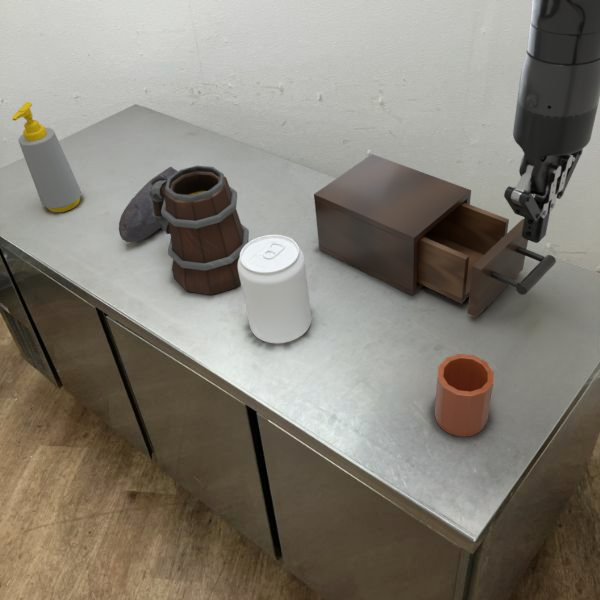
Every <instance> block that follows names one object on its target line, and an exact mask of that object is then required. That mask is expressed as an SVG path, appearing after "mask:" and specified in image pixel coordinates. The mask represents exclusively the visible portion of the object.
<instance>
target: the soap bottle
mask: <svg viewBox="0 0 600 600" xmlns="http://www.w3.org/2000/svg"><path fill="white" fill-rule="evenodd" d="M32 106H33V103H32V102H31V101H26V102H25V103H23V104H22V105H21V107H20V108H19V109H18V110H17V111H16V112H15V113H14V114H13V116H12V117H11V119H12V121H17V120H18V119H20V118H23V119H24V120H25V121H26V122H24V124H23V128H24V129H23V131H22V134H21V135H20V136H19V138H18V139H17V140H18V144H19V147H20V149H21V152H22V154H23V157H24V161H25V162H26V166H27V168H28V171H29V173H30V176H31V178H32V181H33V184H34V186H35V189H36V192H37V194H38V197H39V201H40V203H41V205H42V206H44V207H45V208H47V210H49V211H50V212H52V213H64V212H67V211H70V210H72V209H74V208H76V207H77V206H78V205H79V204H80V201H81V196H82V190H81V188H80V185H79V183H78V181H77V178H76V176H75V174H74V172H73V170H72V167H71V165H70V163H69V161H68V158H67V157H66V153H65V151H64V150H63V147H62V145H61V143H60V141H59V139H58V136H57V134H56V132H55V130H54V129H52V128H50V127H46V126H45V125H43V124H40V123H39V120H36V119H33V117H34V115H33V113H32V110H31V107H32Z"/></svg>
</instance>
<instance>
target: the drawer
mask: <svg viewBox="0 0 600 600" xmlns="http://www.w3.org/2000/svg"><path fill="white" fill-rule="evenodd" d="M509 223H510V219H509V218H507V217H504V216H501V215H498V214H496V213H494V212H490V211H488V210H486V209H482V208H480V207H477V206H474V205H473V204H471V203H470V204H467V203H464V202H463V203H461V204H460V205H459V206H458V207H457V208H456V209H454V210H453V211H452V212H451V213H450V214H448V215H447V216H446V217H445V218H444V219H442V220H441V221H440V222H439V223H438V224H437V225H435V226H434V227H433V228H432V229H431V230H429V231H428V232H427V233H426V234H425V235H423V236H422V237H421V238H420V239H419V240H418V259H417V282H418V283H420V284H422V285H424V286H423V287H426V288H428V289H430V290H432V291H434V292H437V293H438V294H441V295H443V296H445V297H446V298H450V299H451V300H453V301H455V302H458V303H460V304H463V303H464V302H465V301H466V300H467V299H468V305H467V315H468V316H471V317H473V318H475V319H477V318H478V316H479V315H480V314H481V313H482V312H483V311H484V310H485V309H486V308H487V307H488V306H489V305H490V304H491V303H492V302H493V301H494V300H495V299H496V298H497V297H498V296H499V295H500V294H501V292H503V290H504V289H506V288H507V287H508V286H510V287H512V288H515V289H516V291H517V293H518V294H519V295H522V296H524V295H527V294H528V293H529V292H530V291H531V289H533V288H534V286H535V285H537V283H538V282H540V280H541V279H542V278H543V277H544V276H545V275H546V274H547V273H548V272H549V271H550V269H552V267H553V266H555V264H556V262H557V259H556V257H554V256H553V255H552V254H547V255H546V256H544V255H542V254H540V253H537V252H534V251H532V250H530V249H528V243H529V240H527V239H524V238H523V237H522V230H523V224H524V218H522V219H521V220H519V221H518V223H516V224H515V225H514V226H513V227H512V228H511V229H510V230H509V231H508V229H509ZM526 257H528V258H529V259H532V260H534V261H537V262H538V264H537V265H535V267H533V269H532V270H531V271H530V272H529V273H528V274H527V275H526V276H525V277H524V278H523V279H522V280H521V281H518V280H515V279H516V277H518V276H519V275H520V273H521V272H523V270H524V266H525V260H526Z"/></svg>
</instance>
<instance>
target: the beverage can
mask: <svg viewBox="0 0 600 600" xmlns="http://www.w3.org/2000/svg"><path fill="white" fill-rule="evenodd" d="M238 272H239V277H240V282H241V284H240V286H241V291H242V295H243V301H244V305H245V309H246V313H247V319H248V323H249V327H250V331H251V332H252V333H253V334H254V336H255V337H256V338H258V339H259V340H261V341H264V342H265V343H271V344H284V343H290V342H292V341H295V340H297V339H298V338H300V337H301V336H303V335H304V334H305V333H306V332H307V331H308V330H309V328H310V326H311V325H312V311H311V303H310V293H309V286H308V278H307V277H308V276H307V268H306V260H305V255H304V253H303V251H302V249H301V248H300V247H299V244H298V243H297V242H296V241H295V240H294V239H292V238H291V237H288V236H285V235H282V234H265V235H262V236H258V237H255V238H253V239H251V240H250V241H249V242H248V243H247V244H246V245H245V246H244V247H243V248H242V250H241V252H240V258H239V260H238Z"/></svg>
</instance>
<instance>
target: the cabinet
mask: <svg viewBox="0 0 600 600" xmlns="http://www.w3.org/2000/svg"><path fill="white" fill-rule="evenodd" d="M471 195H472V189H470V188H467V187H463V186H462V185H458V184H456V183H453V182H450V181H447V180H444V179H443V178H442V179H441V178H439V177H436V176H434V175H431V174H428V173H426V172H423V171H420V170H417V169H415V168H412V167H409V166H406V165H404V164H401V163H398V162H395V161H393V160H390V159H387V158H384V157H382V156H378V155H376V154H373V153H371V154H370V155H368V156H367V157H365V158H363V160H361V161H359V162H358V163H356V164H355V165H354V166H353V167H351V168H349V169H348V170H347V171H345V172H344V173H342V174H341V175H340V176H338V177H336V178H335V179H333V180H332V181H331V182H330V183H327V184H326V185H325V186H323V187H322V188H320V189H319V190H318V191H316V192H314V194H313V198H314V209H315V210H314V211H315V219H316V231H317V240H318V250H319V251H321V252H322V253H325V254H327V255H329V256H331V257H333V258H335V259H336V260H339V261H340V262H343V263H345V264H347V265H349V266H351V267H353V268H355V269H357V270H359V271H361V272H363V273H365V274H367V275H369V276H371V277H372V278H375V279H377V280H379V281H381V282H384V284H387V285H389V286H392V287H394V288H395V289H397V290H400V291H401V292H403V293H405V294H407V295H410V296H411V297H413V296H415V295H416V294H417V293H418V292H419V291H421V289H422V288H423V287H425V286H424V285H422V284H420V283H418V282H417V259H418V240H419V239H420V238H421V237H422V236H423V235H425V234H426V233H427V232H428V231H429V230H431V229H432V228H433V227H434V226H435V225H437V224H438V223H439V222H440V221H441V220H442V219H444V218H445V217H446V216H447V215H448V214H450V213H451V212H452V211H453V210H454V209H456V208H457V207H458V206H459V205H460V204H461V203H463V202H464V203H467V204H470V205H471V198H472V197H471Z"/></svg>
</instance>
